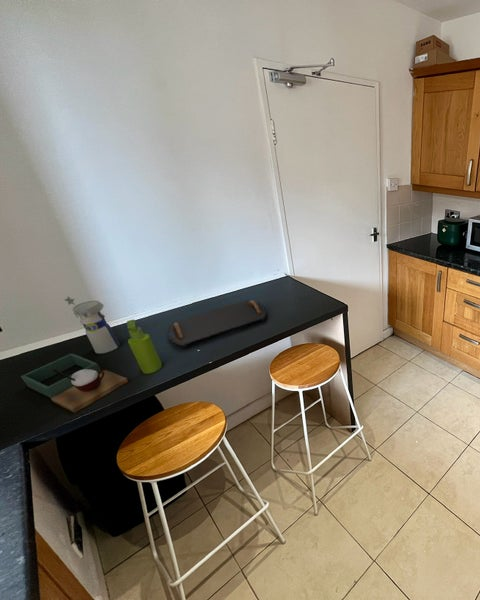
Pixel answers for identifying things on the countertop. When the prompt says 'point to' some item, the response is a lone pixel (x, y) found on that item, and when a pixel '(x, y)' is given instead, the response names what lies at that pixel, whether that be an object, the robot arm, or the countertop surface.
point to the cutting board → (89, 392)
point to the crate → (59, 365)
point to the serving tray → (215, 322)
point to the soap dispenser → (143, 349)
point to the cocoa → (84, 379)
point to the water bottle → (95, 326)
